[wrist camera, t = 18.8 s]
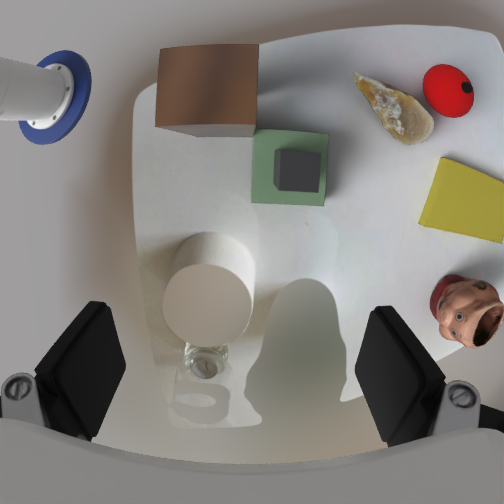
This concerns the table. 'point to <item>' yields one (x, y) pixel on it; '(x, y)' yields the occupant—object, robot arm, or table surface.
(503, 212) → the flat olive board
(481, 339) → the face mug
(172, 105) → the tall brown wooden block
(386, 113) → the stone
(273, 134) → the sage green square slab
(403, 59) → the table surface
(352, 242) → the table surface
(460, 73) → the ornament
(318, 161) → the block
